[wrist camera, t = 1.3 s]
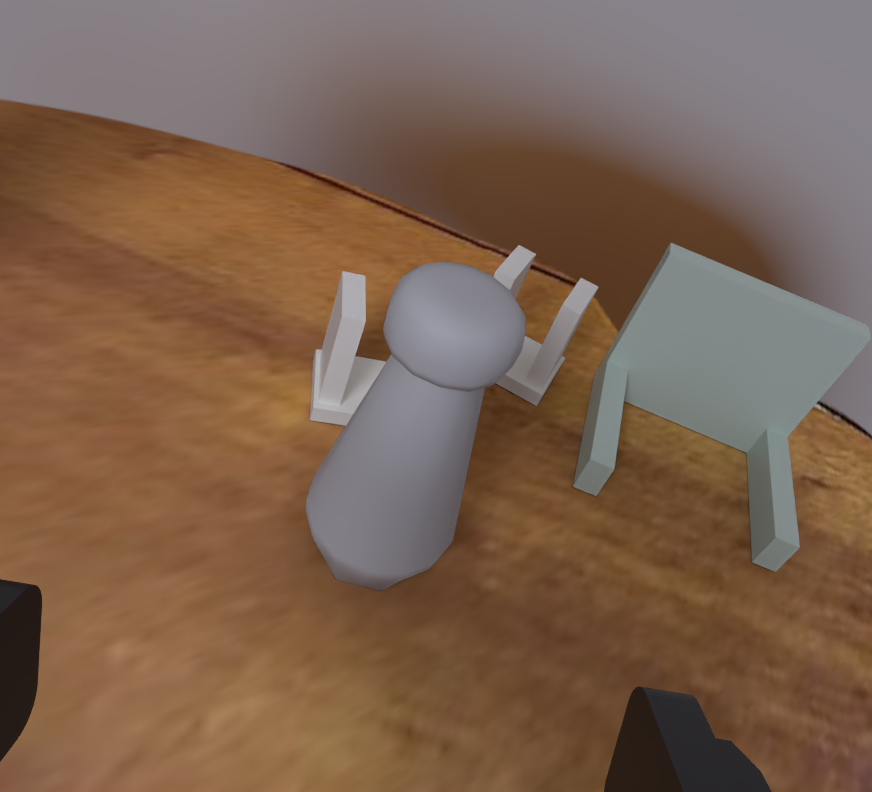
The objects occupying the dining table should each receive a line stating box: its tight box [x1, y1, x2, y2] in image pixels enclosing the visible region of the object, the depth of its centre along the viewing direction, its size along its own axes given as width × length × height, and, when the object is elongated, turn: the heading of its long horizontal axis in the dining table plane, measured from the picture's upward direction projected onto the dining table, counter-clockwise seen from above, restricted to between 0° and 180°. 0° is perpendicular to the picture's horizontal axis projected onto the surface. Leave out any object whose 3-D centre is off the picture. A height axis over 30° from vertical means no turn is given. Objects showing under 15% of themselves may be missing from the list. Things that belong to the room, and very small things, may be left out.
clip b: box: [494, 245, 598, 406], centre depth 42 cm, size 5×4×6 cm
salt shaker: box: [305, 262, 526, 591], centre depth 28 cm, size 6×6×13 cm
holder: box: [573, 243, 871, 572], centre depth 39 cm, size 10×9×9 cm
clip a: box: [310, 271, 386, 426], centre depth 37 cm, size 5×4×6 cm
